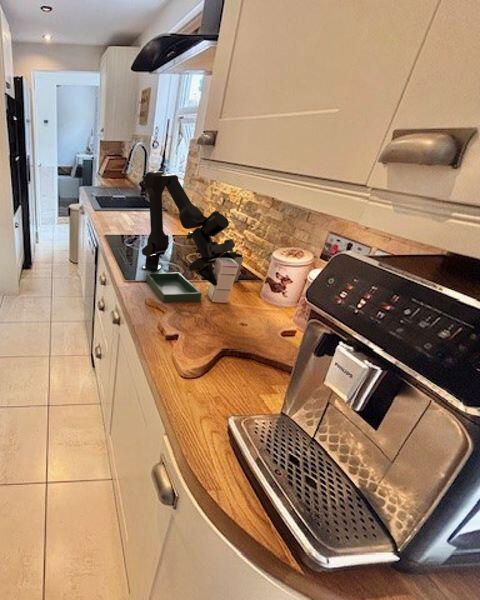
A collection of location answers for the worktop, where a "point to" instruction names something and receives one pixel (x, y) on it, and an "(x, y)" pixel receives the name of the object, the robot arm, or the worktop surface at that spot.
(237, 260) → the grey upright cylinder
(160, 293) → the tray
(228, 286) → the syrup box
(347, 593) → the worktop surface
